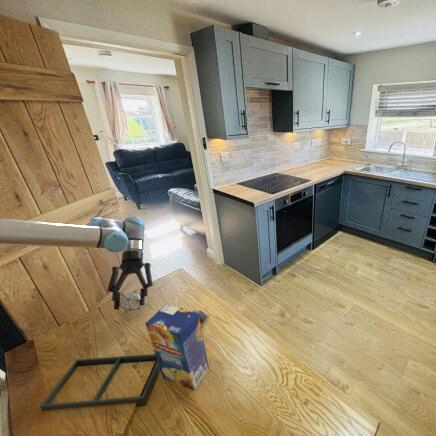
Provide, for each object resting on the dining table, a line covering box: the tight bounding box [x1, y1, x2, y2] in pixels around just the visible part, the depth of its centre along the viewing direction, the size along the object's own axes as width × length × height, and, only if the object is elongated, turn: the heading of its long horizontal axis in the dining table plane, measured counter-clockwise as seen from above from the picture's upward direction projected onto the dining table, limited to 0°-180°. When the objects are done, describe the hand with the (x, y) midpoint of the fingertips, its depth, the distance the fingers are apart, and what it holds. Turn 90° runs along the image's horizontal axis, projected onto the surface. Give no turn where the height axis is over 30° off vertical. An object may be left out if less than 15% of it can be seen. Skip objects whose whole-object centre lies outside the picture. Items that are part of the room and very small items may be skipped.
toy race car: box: [179, 307, 207, 325], centre depth 93 cm, size 10×15×6 cm, turn 69°
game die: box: [117, 289, 141, 314], centre depth 97 cm, size 9×8×10 cm
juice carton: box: [145, 304, 210, 391], centre depth 72 cm, size 12×8×24 cm, turn 72°
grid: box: [39, 353, 161, 412], centre depth 73 cm, size 27×14×4 cm, turn 95°
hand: (129, 307), depth 95 cm, fingers closed on game die, 8 cm apart
